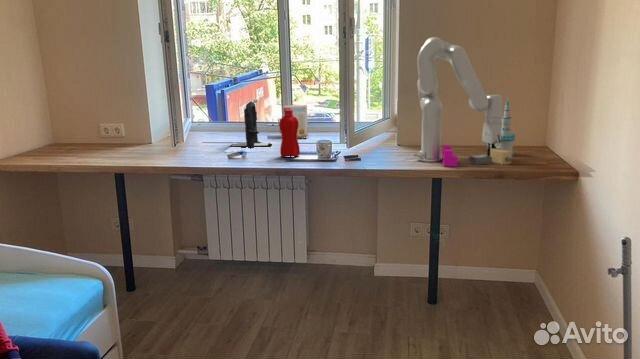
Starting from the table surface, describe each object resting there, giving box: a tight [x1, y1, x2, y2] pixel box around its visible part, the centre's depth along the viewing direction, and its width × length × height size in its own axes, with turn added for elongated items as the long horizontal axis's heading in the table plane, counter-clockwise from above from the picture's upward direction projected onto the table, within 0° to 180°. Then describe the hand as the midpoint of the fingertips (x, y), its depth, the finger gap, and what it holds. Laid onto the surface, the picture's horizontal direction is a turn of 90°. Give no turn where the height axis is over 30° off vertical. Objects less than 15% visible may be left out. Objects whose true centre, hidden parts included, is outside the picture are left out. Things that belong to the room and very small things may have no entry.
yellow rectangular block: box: [490, 147, 513, 165], centre depth 262 cm, size 5×12×6 cm, turn 17°
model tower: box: [496, 97, 516, 157], centre depth 276 cm, size 10×10×30 cm
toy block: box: [441, 144, 459, 168], centre depth 263 cm, size 15×6×8 cm, turn 170°
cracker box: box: [283, 104, 309, 138], centre depth 339 cm, size 14×6×21 cm, turn 82°
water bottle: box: [279, 110, 301, 158], centre depth 286 cm, size 9×11×25 cm
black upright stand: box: [229, 98, 273, 151], centre depth 315 cm, size 32×25×28 cm
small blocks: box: [468, 154, 493, 166], centre depth 265 cm, size 20×6×3 cm, turn 107°
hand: (490, 156), depth 271 cm, fingers closed
